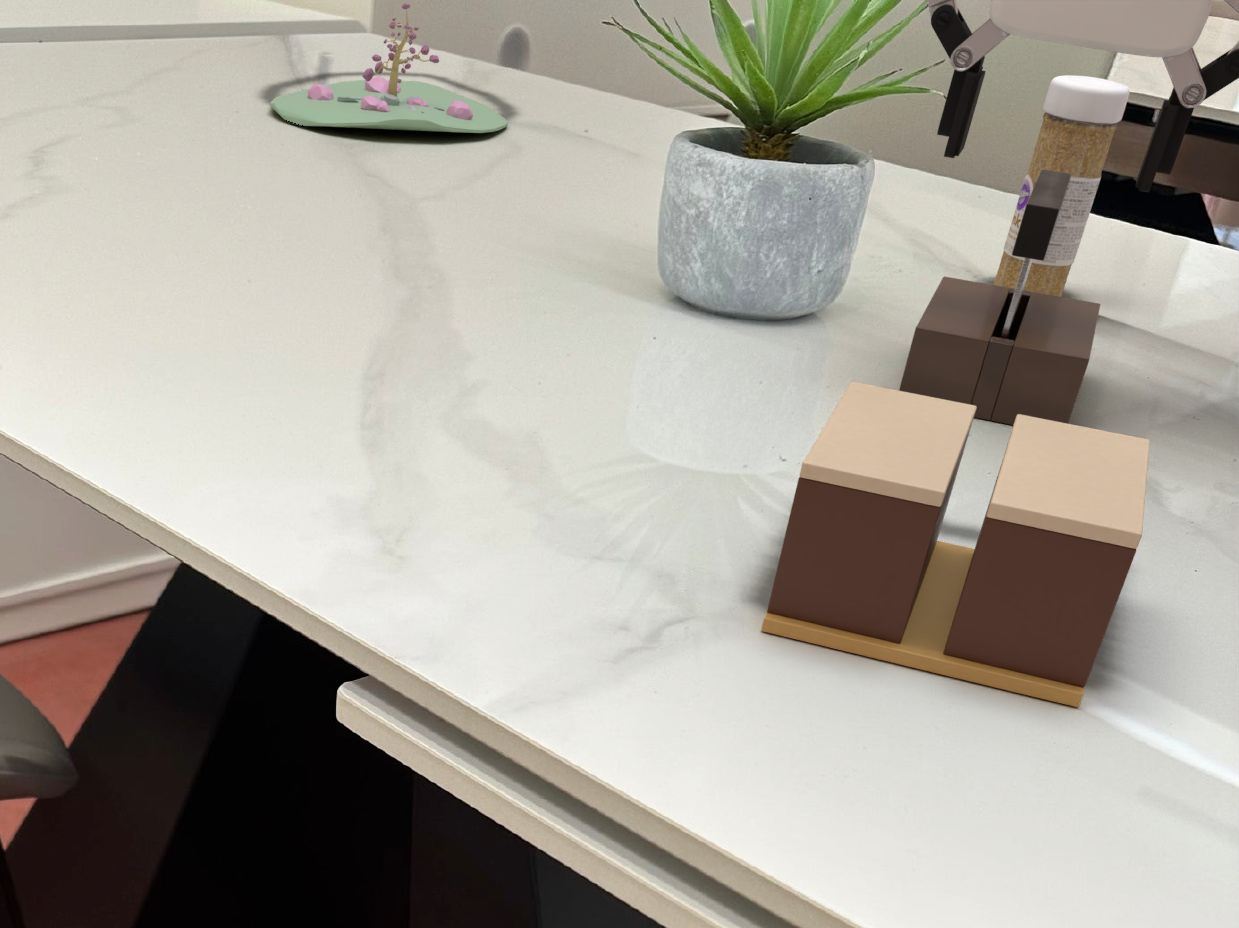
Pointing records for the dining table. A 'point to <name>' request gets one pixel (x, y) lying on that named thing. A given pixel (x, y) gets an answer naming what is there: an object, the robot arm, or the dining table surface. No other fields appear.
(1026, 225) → the slim kitchen knife
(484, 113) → the plant
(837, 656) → the dining table surface
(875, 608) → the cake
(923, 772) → the dining table surface
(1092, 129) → the sprinkles bottle
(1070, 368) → the knife block
